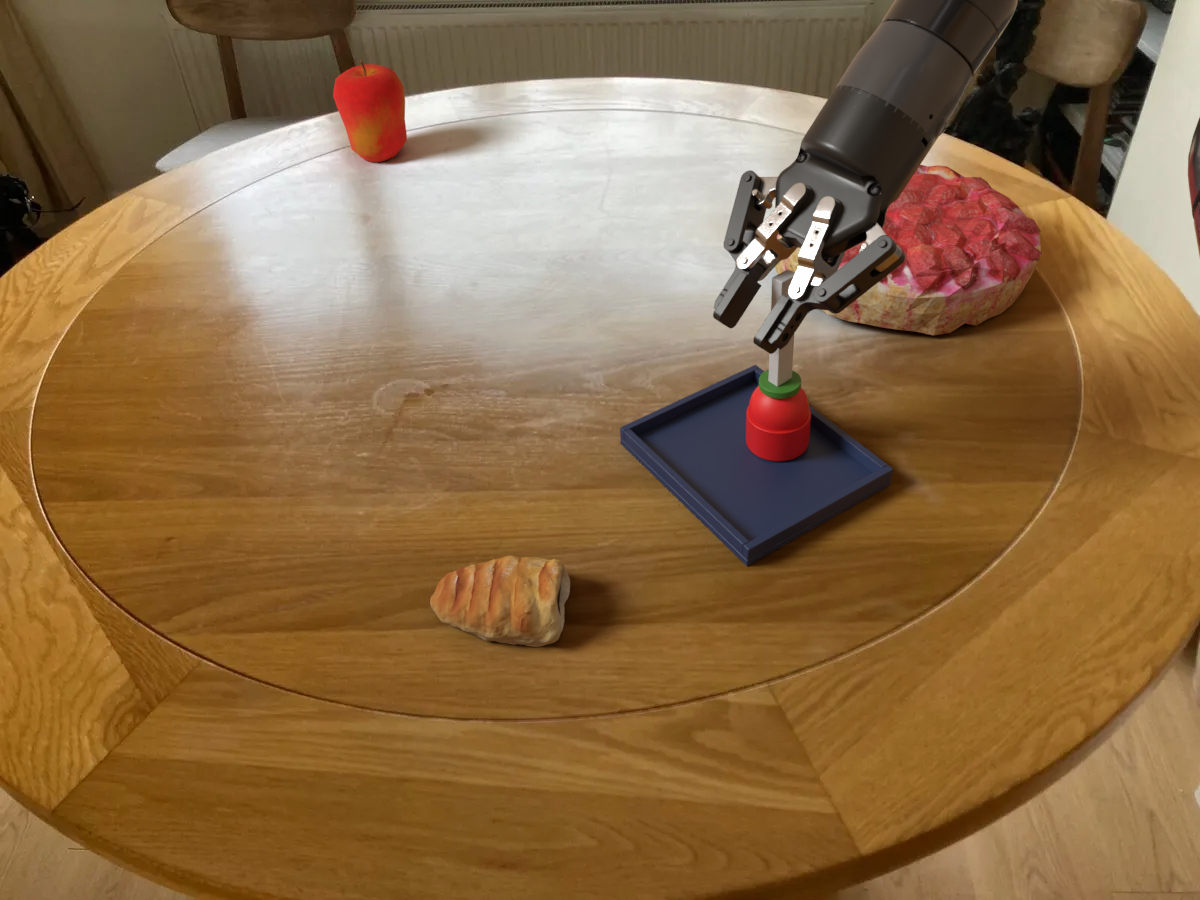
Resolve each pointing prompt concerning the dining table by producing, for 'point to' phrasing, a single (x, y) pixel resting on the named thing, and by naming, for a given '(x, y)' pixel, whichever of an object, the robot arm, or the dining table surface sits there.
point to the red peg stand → (779, 400)
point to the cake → (946, 256)
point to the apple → (372, 110)
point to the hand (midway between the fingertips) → (742, 334)
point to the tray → (750, 469)
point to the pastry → (506, 600)
